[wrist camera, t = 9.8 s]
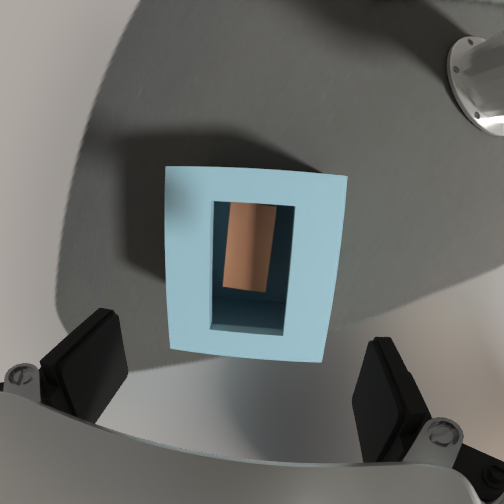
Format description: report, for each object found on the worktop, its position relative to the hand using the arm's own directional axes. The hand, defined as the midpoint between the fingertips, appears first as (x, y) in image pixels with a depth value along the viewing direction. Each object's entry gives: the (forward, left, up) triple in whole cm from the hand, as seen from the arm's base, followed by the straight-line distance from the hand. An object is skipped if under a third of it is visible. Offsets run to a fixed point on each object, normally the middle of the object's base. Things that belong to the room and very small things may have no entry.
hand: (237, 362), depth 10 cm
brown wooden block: (+1, 0, -20) cm, 20 cm away
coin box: (+1, 0, -21) cm, 21 cm away
